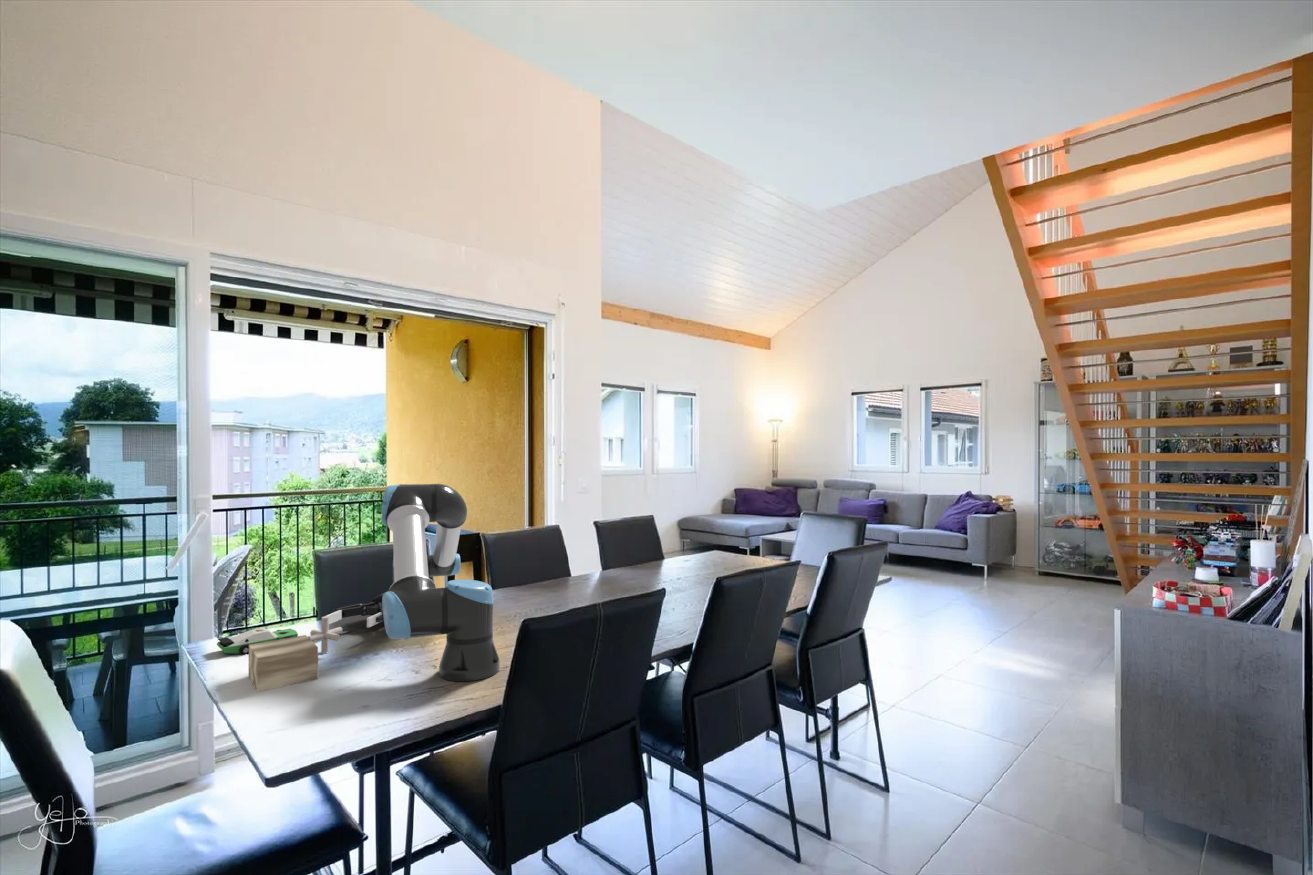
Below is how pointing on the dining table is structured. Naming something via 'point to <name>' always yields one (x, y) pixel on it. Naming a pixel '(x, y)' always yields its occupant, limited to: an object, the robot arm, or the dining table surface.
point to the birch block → (282, 662)
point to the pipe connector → (325, 634)
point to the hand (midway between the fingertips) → (347, 621)
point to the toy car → (252, 639)
